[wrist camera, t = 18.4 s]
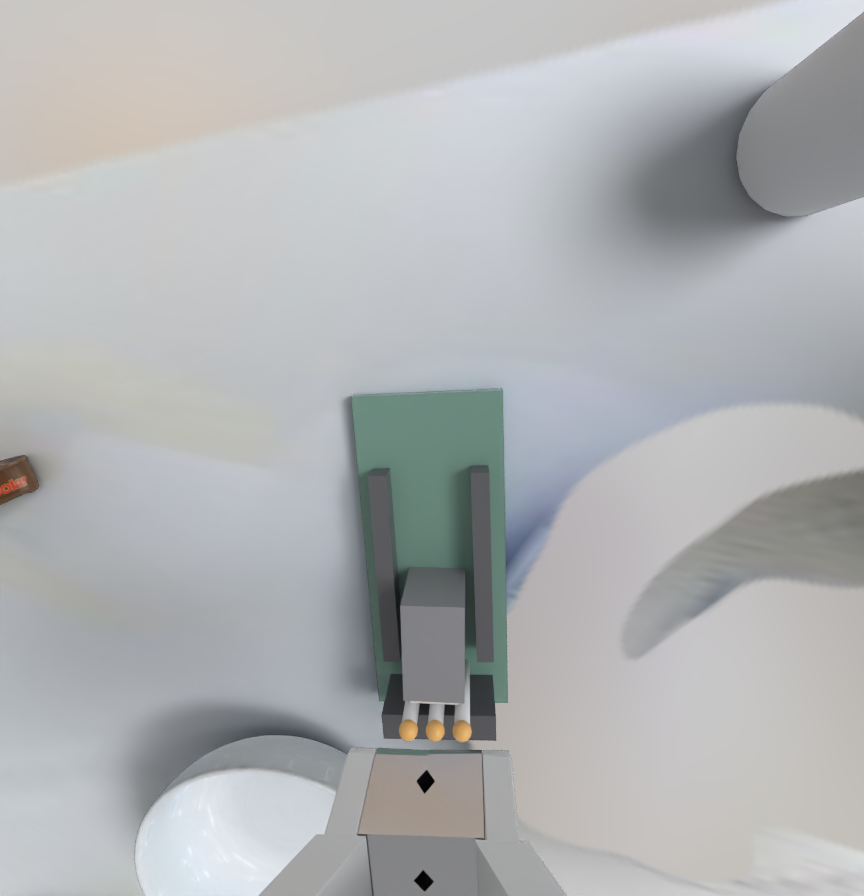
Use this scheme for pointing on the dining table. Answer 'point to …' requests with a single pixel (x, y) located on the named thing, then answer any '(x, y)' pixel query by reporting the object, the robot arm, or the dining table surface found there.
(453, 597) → the plug
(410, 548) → the header board
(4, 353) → the dining table surface
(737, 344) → the dining table surface
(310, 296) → the dining table surface
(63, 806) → the dining table surface
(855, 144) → the can
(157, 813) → the serving bowl
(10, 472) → the tin
